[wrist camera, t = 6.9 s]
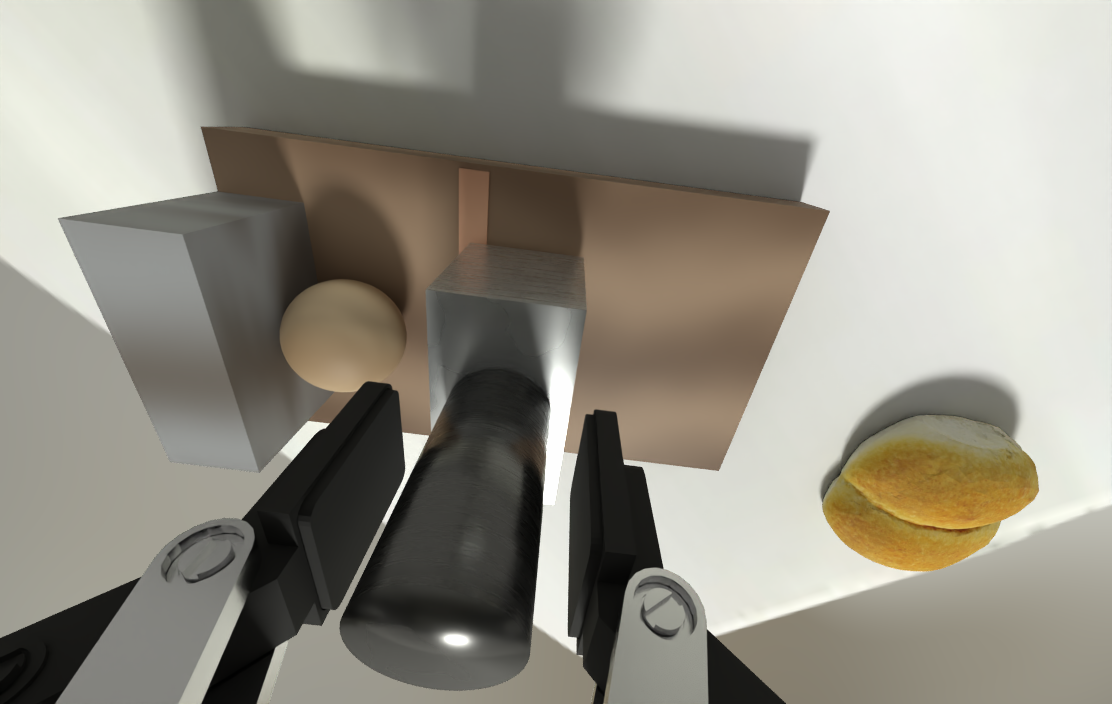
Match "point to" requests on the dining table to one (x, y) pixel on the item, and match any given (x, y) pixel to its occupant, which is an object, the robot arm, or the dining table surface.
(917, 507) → the bread roll
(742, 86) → the dining table surface
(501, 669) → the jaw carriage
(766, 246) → the base
